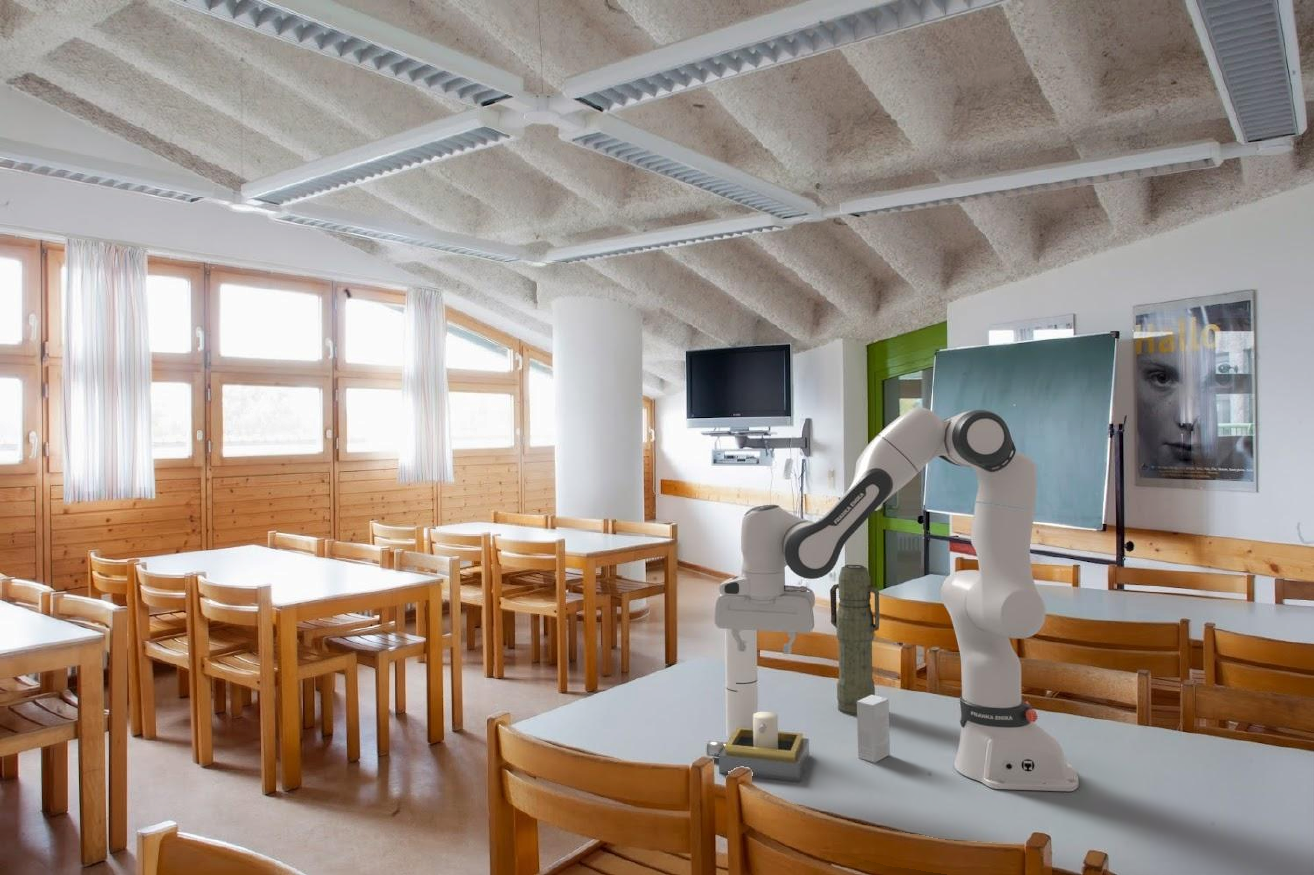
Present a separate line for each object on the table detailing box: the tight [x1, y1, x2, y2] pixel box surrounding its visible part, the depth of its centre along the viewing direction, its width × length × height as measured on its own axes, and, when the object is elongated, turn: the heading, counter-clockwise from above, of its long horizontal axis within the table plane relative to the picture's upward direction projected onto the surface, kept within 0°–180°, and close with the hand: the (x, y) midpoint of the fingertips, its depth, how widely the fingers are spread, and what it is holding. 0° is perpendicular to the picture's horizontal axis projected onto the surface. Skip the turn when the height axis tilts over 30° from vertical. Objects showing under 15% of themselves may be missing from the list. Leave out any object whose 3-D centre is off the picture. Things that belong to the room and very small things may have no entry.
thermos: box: [829, 564, 880, 716], centre depth 206 cm, size 9×12×35 cm
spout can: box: [753, 711, 779, 749], centre depth 173 cm, size 5×7×10 cm
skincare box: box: [856, 694, 891, 763], centre depth 177 cm, size 6×4×12 cm
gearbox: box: [705, 727, 810, 783], centre depth 174 cm, size 20×14×5 cm
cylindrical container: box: [724, 629, 759, 739], centre depth 190 cm, size 7×7×25 cm
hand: (764, 651), depth 174 cm, fingers open, 8 cm apart
